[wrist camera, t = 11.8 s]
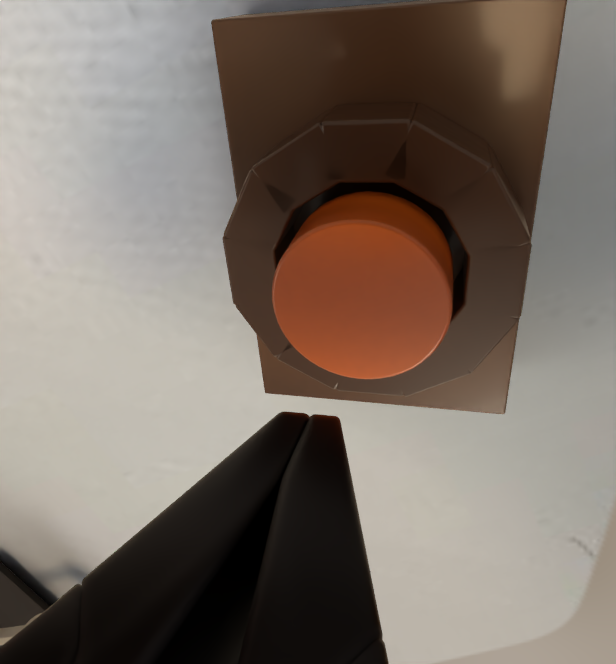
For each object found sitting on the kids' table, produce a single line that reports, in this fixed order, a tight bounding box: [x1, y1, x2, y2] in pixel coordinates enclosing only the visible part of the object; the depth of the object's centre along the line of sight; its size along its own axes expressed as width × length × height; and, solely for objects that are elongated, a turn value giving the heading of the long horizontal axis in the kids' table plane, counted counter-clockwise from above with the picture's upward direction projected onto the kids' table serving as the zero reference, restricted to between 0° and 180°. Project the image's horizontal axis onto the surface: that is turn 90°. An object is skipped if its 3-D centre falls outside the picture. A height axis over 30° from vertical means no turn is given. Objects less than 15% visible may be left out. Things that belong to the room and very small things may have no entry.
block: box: [211, 0, 567, 414], centre depth 14 cm, size 10×7×4 cm
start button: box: [272, 191, 453, 379], centre depth 11 cm, size 4×4×2 cm
